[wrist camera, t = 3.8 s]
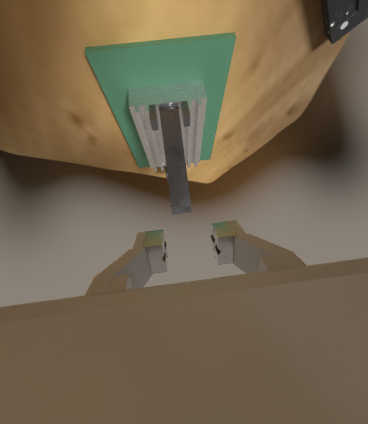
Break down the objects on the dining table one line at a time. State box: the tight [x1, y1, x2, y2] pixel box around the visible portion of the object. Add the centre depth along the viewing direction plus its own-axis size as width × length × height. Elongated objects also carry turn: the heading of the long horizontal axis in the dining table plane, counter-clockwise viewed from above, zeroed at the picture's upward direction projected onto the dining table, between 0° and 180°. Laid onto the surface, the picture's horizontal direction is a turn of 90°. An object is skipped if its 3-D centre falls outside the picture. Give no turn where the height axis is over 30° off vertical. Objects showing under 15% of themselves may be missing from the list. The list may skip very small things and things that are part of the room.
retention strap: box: [159, 107, 191, 214], centre depth 27 cm, size 17×3×2 cm
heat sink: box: [128, 81, 207, 180], centre depth 35 cm, size 20×12×7 cm, turn 1°
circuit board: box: [85, 33, 236, 168], centre depth 34 cm, size 26×20×1 cm
